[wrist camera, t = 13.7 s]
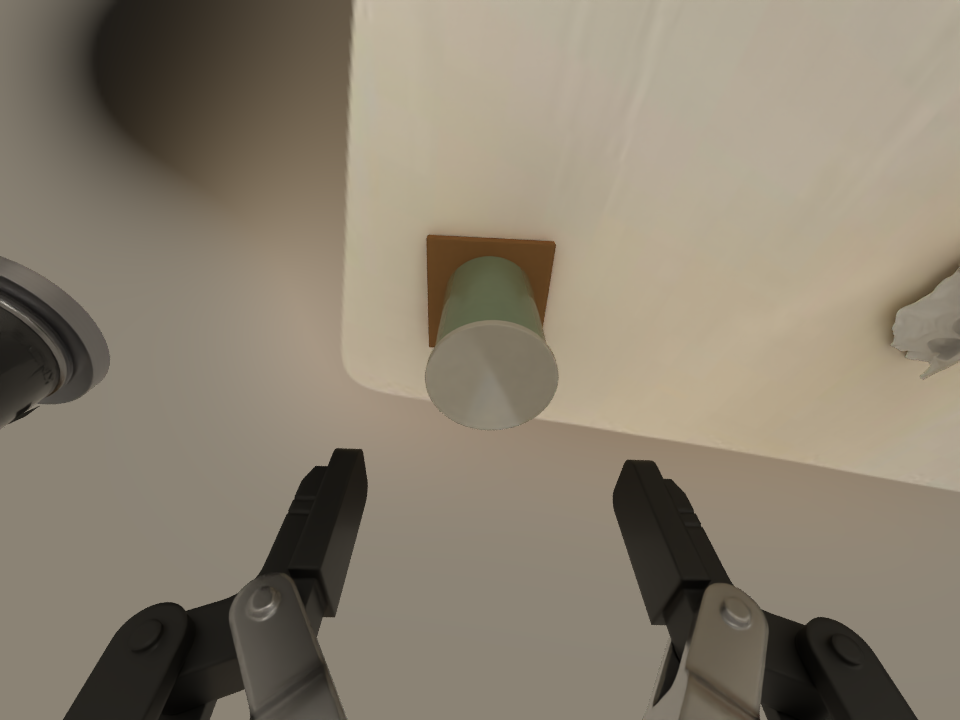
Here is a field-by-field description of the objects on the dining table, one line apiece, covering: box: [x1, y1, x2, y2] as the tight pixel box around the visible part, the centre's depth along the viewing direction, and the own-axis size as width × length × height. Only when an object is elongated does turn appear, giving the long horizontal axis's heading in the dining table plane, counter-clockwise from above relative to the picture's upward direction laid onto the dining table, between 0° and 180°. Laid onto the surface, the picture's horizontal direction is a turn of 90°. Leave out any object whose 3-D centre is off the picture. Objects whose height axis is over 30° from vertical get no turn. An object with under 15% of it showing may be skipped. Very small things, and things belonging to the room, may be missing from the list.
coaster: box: [427, 235, 556, 347], centre depth 24 cm, size 7×7×1 cm
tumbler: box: [425, 256, 558, 430], centre depth 20 cm, size 6×6×8 cm
